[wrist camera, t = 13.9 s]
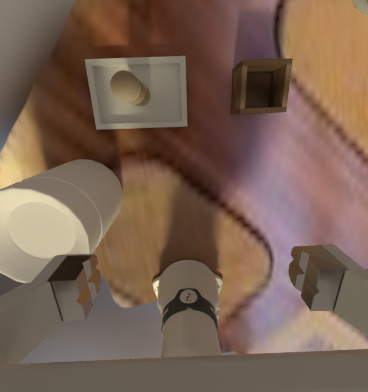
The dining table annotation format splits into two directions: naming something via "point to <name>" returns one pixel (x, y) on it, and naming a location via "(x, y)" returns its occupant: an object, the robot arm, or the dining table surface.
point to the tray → (153, 79)
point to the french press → (361, 5)
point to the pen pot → (260, 86)
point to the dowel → (129, 88)
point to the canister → (56, 216)
